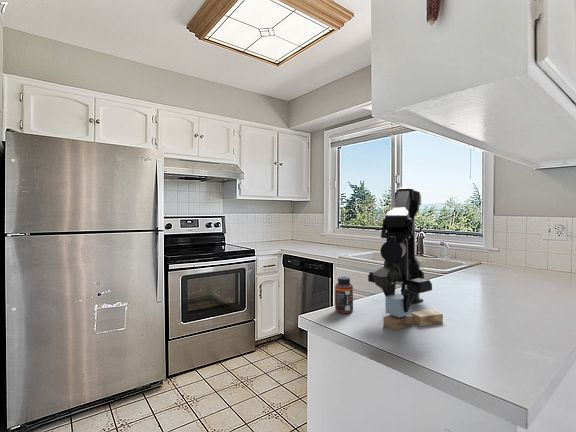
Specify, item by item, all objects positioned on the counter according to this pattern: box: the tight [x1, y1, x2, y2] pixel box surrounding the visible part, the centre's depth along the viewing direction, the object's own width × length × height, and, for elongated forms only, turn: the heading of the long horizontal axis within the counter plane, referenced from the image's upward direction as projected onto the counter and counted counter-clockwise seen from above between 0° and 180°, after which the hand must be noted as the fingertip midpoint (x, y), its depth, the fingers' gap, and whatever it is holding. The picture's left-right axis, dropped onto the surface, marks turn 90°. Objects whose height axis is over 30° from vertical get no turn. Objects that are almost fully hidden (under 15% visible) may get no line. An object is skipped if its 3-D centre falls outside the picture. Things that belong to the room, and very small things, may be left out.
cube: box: [384, 293, 412, 317], centre depth 97 cm, size 5×5×5 cm
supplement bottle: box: [334, 276, 354, 314], centre depth 111 cm, size 6×6×11 cm
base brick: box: [382, 314, 415, 331], centre depth 97 cm, size 8×4×3 cm, turn 123°
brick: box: [411, 309, 444, 327], centre depth 99 cm, size 8×4×3 cm, turn 106°
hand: (398, 309), depth 97 cm, fingers closed on cube, 5 cm apart
